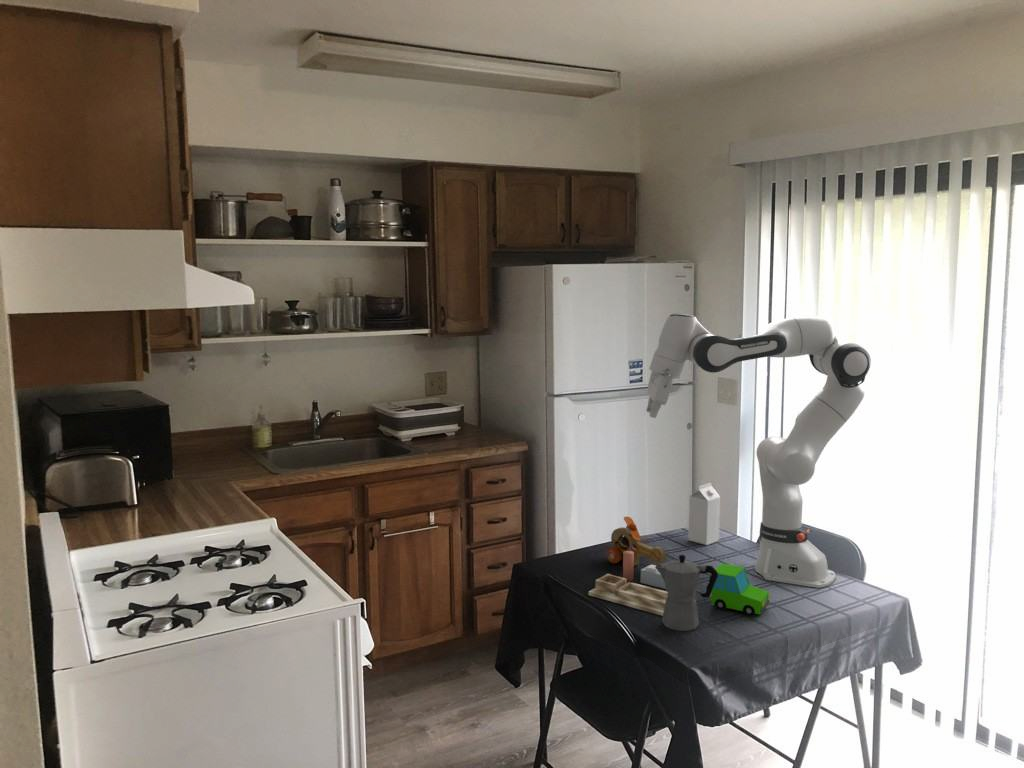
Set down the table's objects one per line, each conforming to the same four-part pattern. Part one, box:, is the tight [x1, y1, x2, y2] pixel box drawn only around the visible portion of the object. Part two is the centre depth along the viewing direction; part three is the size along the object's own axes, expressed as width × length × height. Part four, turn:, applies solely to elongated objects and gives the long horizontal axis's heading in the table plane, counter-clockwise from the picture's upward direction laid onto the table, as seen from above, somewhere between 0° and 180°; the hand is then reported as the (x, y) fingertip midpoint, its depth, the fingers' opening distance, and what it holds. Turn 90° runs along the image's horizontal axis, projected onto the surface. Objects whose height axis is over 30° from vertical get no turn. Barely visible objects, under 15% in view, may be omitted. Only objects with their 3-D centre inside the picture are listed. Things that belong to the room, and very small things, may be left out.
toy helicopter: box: [606, 516, 667, 567], centre depth 252 cm, size 8×21×14 cm, turn 39°
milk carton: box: [687, 482, 721, 546], centre depth 275 cm, size 7×7×19 cm
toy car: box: [710, 562, 771, 617], centre depth 221 cm, size 10×13×10 cm
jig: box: [588, 573, 668, 617], centre depth 229 cm, size 23×12×4 cm, turn 52°
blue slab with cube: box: [639, 564, 666, 590], centre depth 238 cm, size 12×4×5 cm, turn 52°
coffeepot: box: [655, 554, 718, 632], centre depth 211 cm, size 15×9×18 cm, turn 80°
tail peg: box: [622, 551, 635, 582], centre depth 242 cm, size 3×3×8 cm
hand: (650, 414), depth 240 cm, fingers open, 8 cm apart
